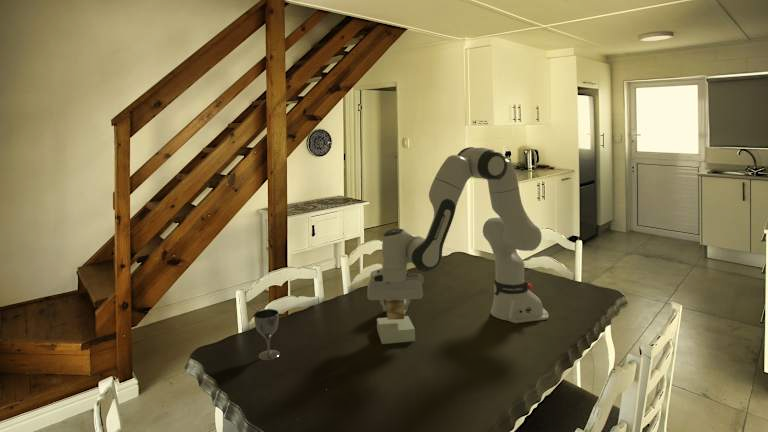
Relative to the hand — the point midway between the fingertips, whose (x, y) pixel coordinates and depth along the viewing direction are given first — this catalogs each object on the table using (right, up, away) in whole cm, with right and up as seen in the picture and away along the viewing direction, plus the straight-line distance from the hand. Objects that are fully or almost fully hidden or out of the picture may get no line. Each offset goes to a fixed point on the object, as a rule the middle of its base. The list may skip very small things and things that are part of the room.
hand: (395, 310), depth 170 cm
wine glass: (-43, -13, -11) cm, 47 cm away
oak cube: (0, -2, 0) cm, 2 cm away
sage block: (0, -10, +2) cm, 10 cm away
